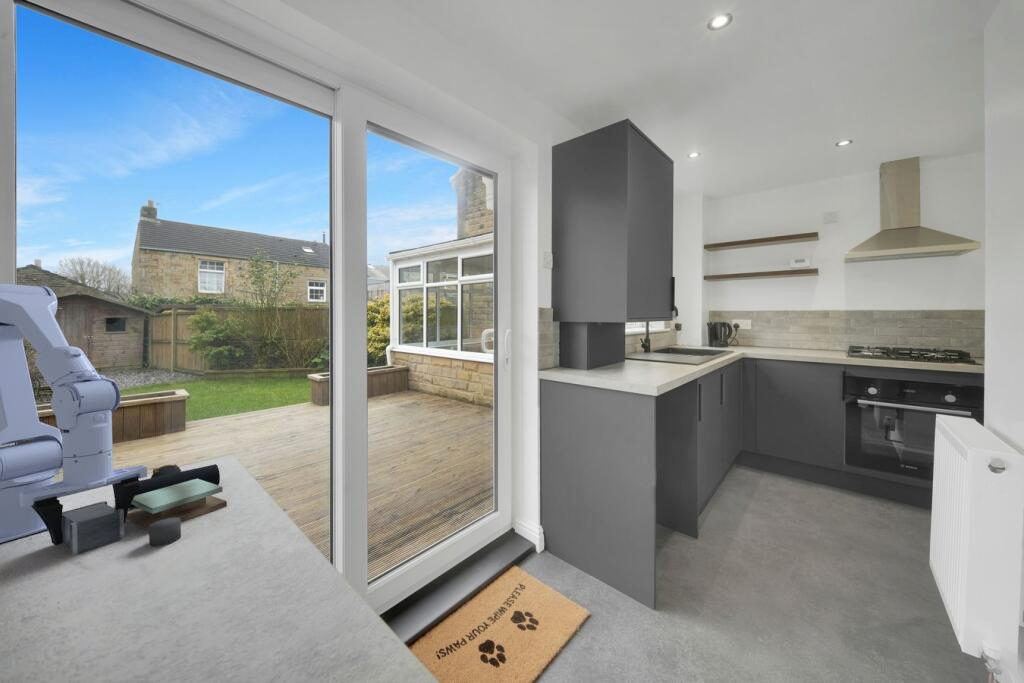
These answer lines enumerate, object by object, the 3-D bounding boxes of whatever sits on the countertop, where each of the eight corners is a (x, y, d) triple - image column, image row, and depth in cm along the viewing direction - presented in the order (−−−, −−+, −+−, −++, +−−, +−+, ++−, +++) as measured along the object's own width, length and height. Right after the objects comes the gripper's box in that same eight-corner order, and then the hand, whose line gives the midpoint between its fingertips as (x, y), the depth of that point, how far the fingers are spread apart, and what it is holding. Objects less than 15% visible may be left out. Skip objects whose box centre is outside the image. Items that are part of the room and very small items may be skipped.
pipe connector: (118, 472, 85) (204, 455, 96) (119, 497, 85) (204, 477, 97) (128, 486, 78) (219, 466, 89) (128, 512, 78) (220, 489, 90)
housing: (124, 538, 67) (123, 509, 67) (73, 556, 62) (72, 524, 61) (105, 528, 71) (105, 500, 71) (55, 544, 65) (55, 514, 65)
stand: (150, 532, 69) (150, 509, 69) (124, 519, 74) (124, 498, 74) (226, 506, 79) (226, 486, 79) (199, 495, 85) (198, 477, 84)
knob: (155, 549, 64) (155, 531, 63) (144, 543, 65) (144, 525, 65) (185, 538, 67) (185, 520, 67) (174, 532, 69) (174, 515, 69)
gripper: (28, 469, 58) (30, 560, 58) (154, 444, 70) (155, 519, 71) (14, 462, 61) (16, 548, 61) (137, 439, 74) (138, 511, 74)
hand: (90, 532), depth 66 cm, fingers open, 7 cm apart
